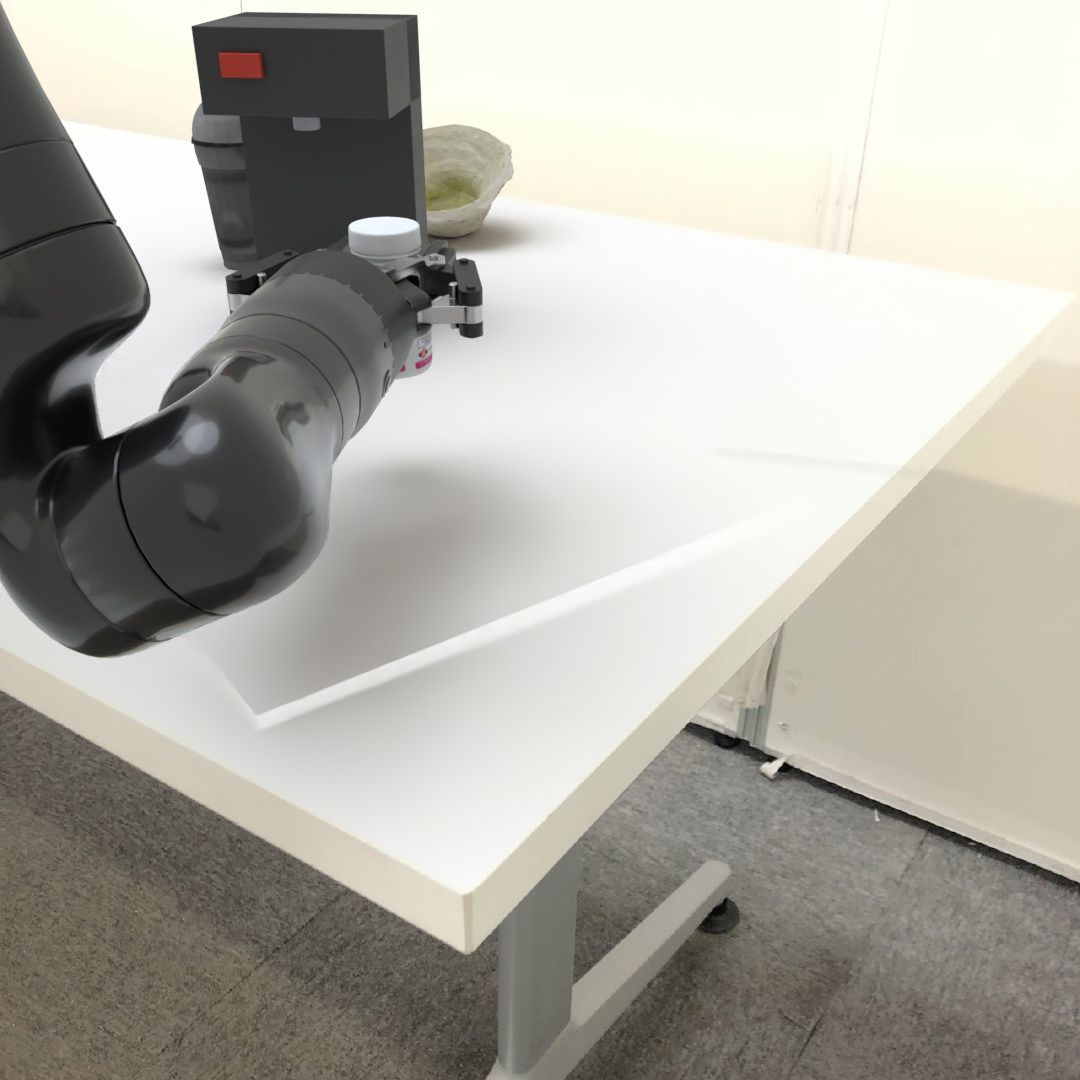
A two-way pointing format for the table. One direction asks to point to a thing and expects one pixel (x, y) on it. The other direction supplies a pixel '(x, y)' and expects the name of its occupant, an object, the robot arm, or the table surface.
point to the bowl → (462, 177)
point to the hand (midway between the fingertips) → (397, 254)
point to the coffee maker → (319, 119)
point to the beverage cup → (226, 185)
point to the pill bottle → (381, 246)
